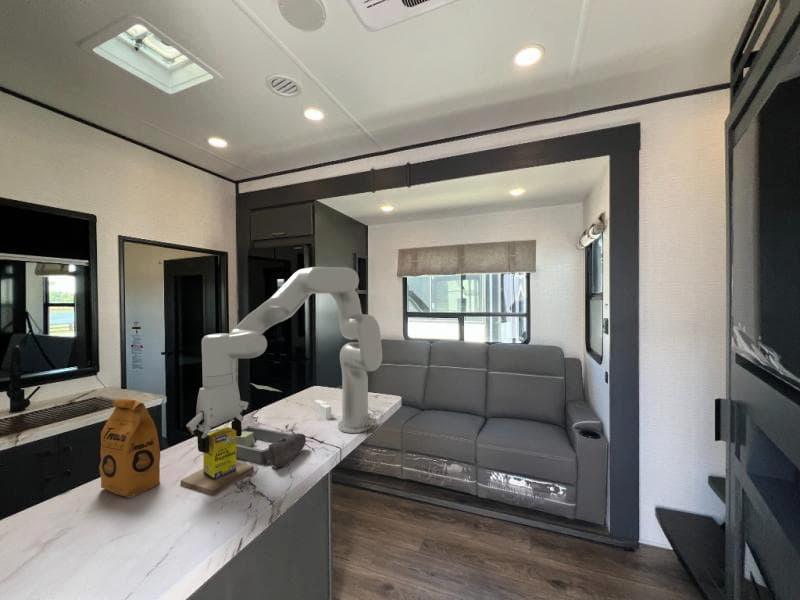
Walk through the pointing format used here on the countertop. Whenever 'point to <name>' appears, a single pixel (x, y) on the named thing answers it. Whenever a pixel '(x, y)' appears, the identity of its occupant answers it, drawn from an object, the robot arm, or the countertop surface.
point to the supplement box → (220, 453)
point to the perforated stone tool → (286, 449)
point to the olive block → (245, 439)
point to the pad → (215, 486)
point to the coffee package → (129, 450)
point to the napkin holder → (322, 409)
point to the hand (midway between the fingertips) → (221, 443)
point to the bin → (258, 454)
